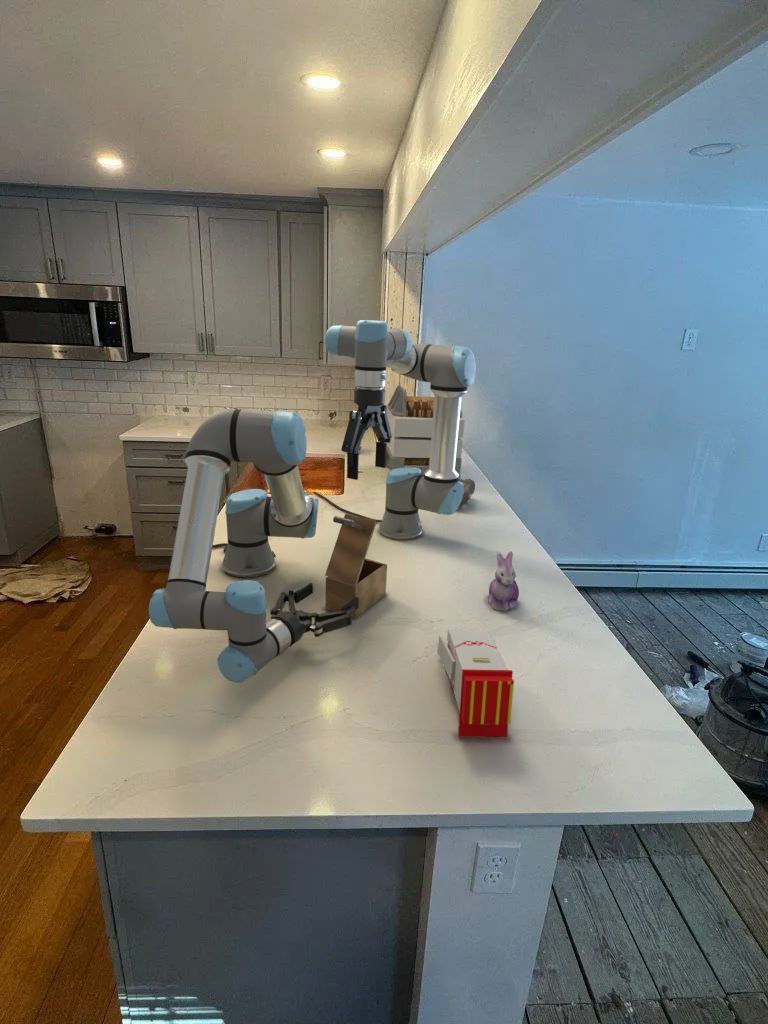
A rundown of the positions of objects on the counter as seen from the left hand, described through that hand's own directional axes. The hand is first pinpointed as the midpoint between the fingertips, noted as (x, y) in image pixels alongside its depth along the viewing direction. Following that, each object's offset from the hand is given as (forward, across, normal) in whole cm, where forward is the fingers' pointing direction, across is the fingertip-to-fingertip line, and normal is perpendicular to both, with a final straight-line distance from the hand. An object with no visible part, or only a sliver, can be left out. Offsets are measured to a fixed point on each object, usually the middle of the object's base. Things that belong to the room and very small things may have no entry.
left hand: (334, 594), depth 141 cm
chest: (+12, 0, -7) cm, 14 cm away
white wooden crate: (+136, -42, -7) cm, 143 cm away
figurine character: (+153, -89, -7) cm, 177 cm away
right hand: (+15, 0, +28) cm, 32 cm away
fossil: (+105, -9, -7) cm, 105 cm away
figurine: (+32, +34, -7) cm, 47 cm away
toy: (-8, +40, -7) cm, 41 cm away
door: (+8, 0, +9) cm, 13 cm away
